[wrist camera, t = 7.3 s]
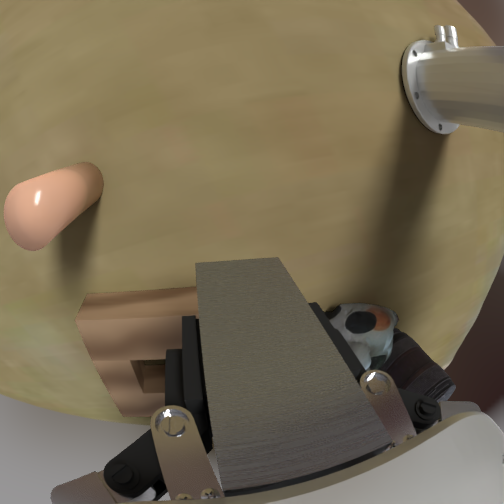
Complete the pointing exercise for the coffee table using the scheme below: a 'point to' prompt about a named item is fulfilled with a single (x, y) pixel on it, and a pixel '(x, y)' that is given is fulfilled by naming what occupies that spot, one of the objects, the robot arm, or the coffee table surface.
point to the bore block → (134, 342)
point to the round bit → (50, 203)
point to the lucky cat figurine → (366, 331)
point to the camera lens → (416, 369)
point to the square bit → (276, 382)
